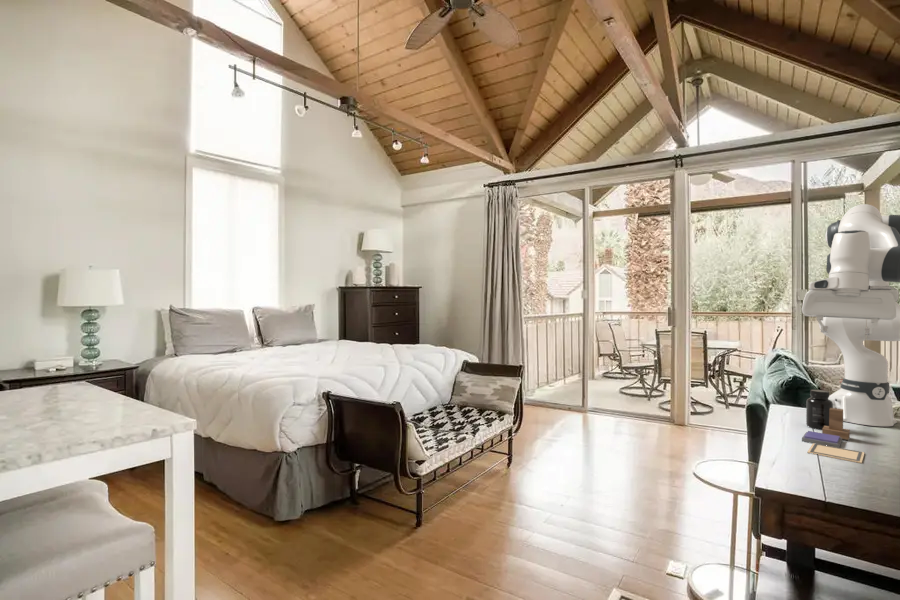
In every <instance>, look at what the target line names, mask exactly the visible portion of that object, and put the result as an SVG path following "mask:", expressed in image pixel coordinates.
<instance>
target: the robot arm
mask: <svg viewBox="0 0 900 600" xmlns="http://www.w3.org/2000/svg"><path fill="white" fill-rule="evenodd" d="M824 238H825V241H826V244H827V246H828V247H829V248H830V253H829V254H828V255H827V256H826V268H825V269H826V270H825V271H826V273H827V274H828V277H827V278H823V279H818V280H815V281H810V282H809V283H808V289H809V290H808V291H807V292H806V293H805V294H804V298H803V300H802V301H803V302H802V307H801V313H802V315H803V316H804V317H813V318H814V317H815V318H816V321H817V323H818V327H819V330H820V333H822V335H824V336H825V337H827V338H829V339H830V340H831V341H832V342H834V344H836V345H837V347H838V348H839V350H840V351H841V354H842V358H843V363H844V364H843V365H844V377H843V378H841V379H839V381H840V386H839V387H840V388H839V389H837V390H836V391H835V392H833V393H832V394H829V398H828V399H829V400H831V401H832V403H833V408H836V409H843V422H847V423H851V424H852V423H853V424H856V425H857V424H858V425H863V426H864V425H865V426H873V427H893V426H894V425H895V424H897V419H895V418H894V408H893V401H892V398H891V397H890V395H889V393H890V389H891V386H890V382H889V381H888V378H889V377H888V376H889V375H888V374H889V363H888V359H887V358H886V356H884V355H883V354H881V353H879V352H877V351H875V350H873V349H870V348H868V347H866V346H865V345H864V343H863V342H864V341H875V342H876V341H880V342H882V341H883V342H900V304H899V303H898V300H899V299H900V298H899V297H900V292H899V290H898V289H897V288H896V287H892V286H890V283H900V214H889V215H882V214H881V212H880V210H879V209H878V208H877V207H876V206H874V205H873V204H867V203H861V204H857V205H855V206H852V207H851V208H849V209H848V210H847V211H846V212H845V214H844V215H843V216H842V218H841V219H837V220H836V221H834V222H833V223H830V224H829V226H827V229H826V231H825V235H824Z"/></svg>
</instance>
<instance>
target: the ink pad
mask: <svg viewBox="0 0 900 600" xmlns="http://www.w3.org/2000/svg"><path fill="white" fill-rule="evenodd" d="M803 441H805V442H804V443H809V442H811V443H810V444H813V443H816V444H821V445H827V446H832V447H838V448H841V447H840V446H842V445H841V444H842V442H843V441H842V438H840V436H836V435H830V434H824V433H822V432H818V431H817V432H816V431H812V430H807V431H806V432H805V433H804V435H802V437H801V442H803Z"/></svg>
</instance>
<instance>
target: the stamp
mask: <svg viewBox="0 0 900 600" xmlns="http://www.w3.org/2000/svg"><path fill="white" fill-rule="evenodd" d="M821 431H822V432H821V433H824V434H830V435H836V436H840V438H842V442H848V443H849V441H850V437H851V435H850V431H851V429H847V428H844V421H843V409H836V408H830V409H829V426H824V427H823V428H822V430H821Z"/></svg>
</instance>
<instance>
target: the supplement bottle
mask: <svg viewBox="0 0 900 600" xmlns="http://www.w3.org/2000/svg"><path fill="white" fill-rule="evenodd" d="M809 393H810V394H809V395H810V397H809V398H807V399H806V408H805V410H806V412H805V413H806V414H805V418H806V421H805V422H806V423H805V424H806V426H807V427H808V426H809V427H808V428H811V429H815V428H816V429H815V430H821V431H822V428H823V427H824V426H829V409H830V408H833V403H832V401H831V400H829V399H828V398H829V396H830V392H829V391H828V390H823V389H810V391H809Z"/></svg>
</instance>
